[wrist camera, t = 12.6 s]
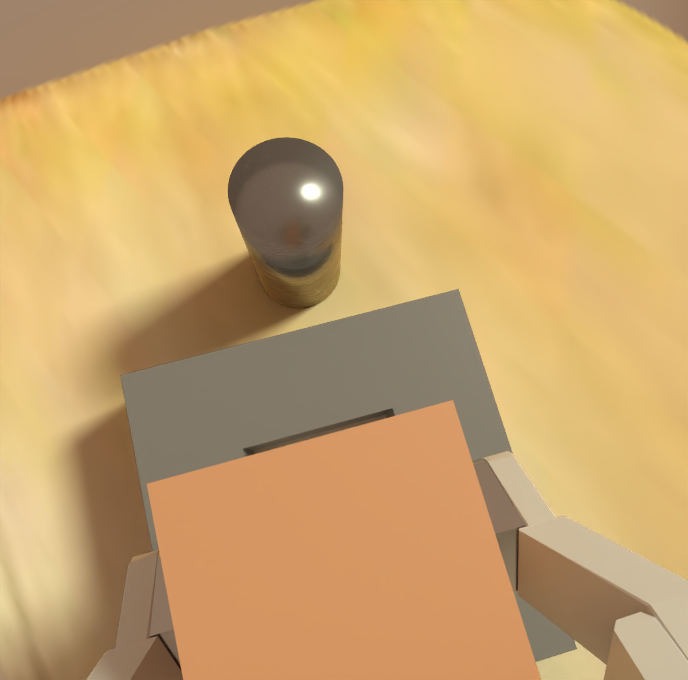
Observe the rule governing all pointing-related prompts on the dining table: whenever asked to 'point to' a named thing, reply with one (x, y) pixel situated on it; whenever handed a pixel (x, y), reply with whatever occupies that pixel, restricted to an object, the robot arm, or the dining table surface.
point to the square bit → (341, 561)
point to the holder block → (320, 399)
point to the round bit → (290, 218)
